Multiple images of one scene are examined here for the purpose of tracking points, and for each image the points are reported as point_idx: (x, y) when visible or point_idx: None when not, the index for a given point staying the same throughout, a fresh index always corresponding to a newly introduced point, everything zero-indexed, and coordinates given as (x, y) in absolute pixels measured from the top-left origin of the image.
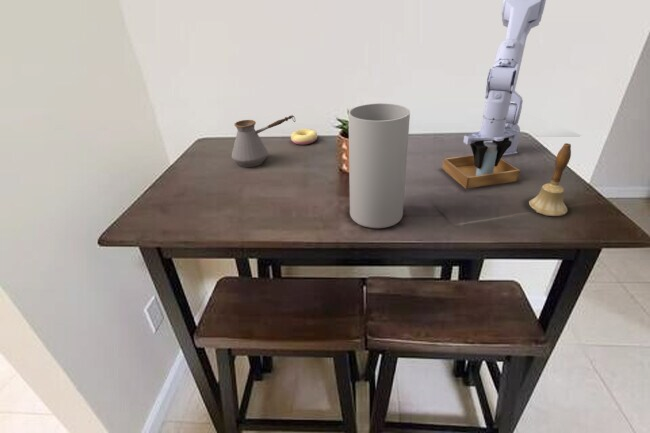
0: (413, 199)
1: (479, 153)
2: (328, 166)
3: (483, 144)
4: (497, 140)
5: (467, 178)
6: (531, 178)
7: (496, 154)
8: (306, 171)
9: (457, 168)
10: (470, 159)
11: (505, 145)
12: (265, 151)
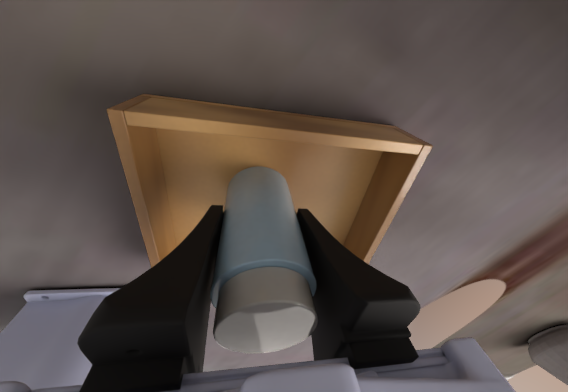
0: (563, 140)
1: (369, 265)
2: (495, 311)
3: (351, 332)
4: (353, 377)
5: (431, 145)
6: (38, 103)
7: (236, 248)
8: (536, 304)
9: (381, 230)
10: None
11: (174, 302)
12: (560, 353)
